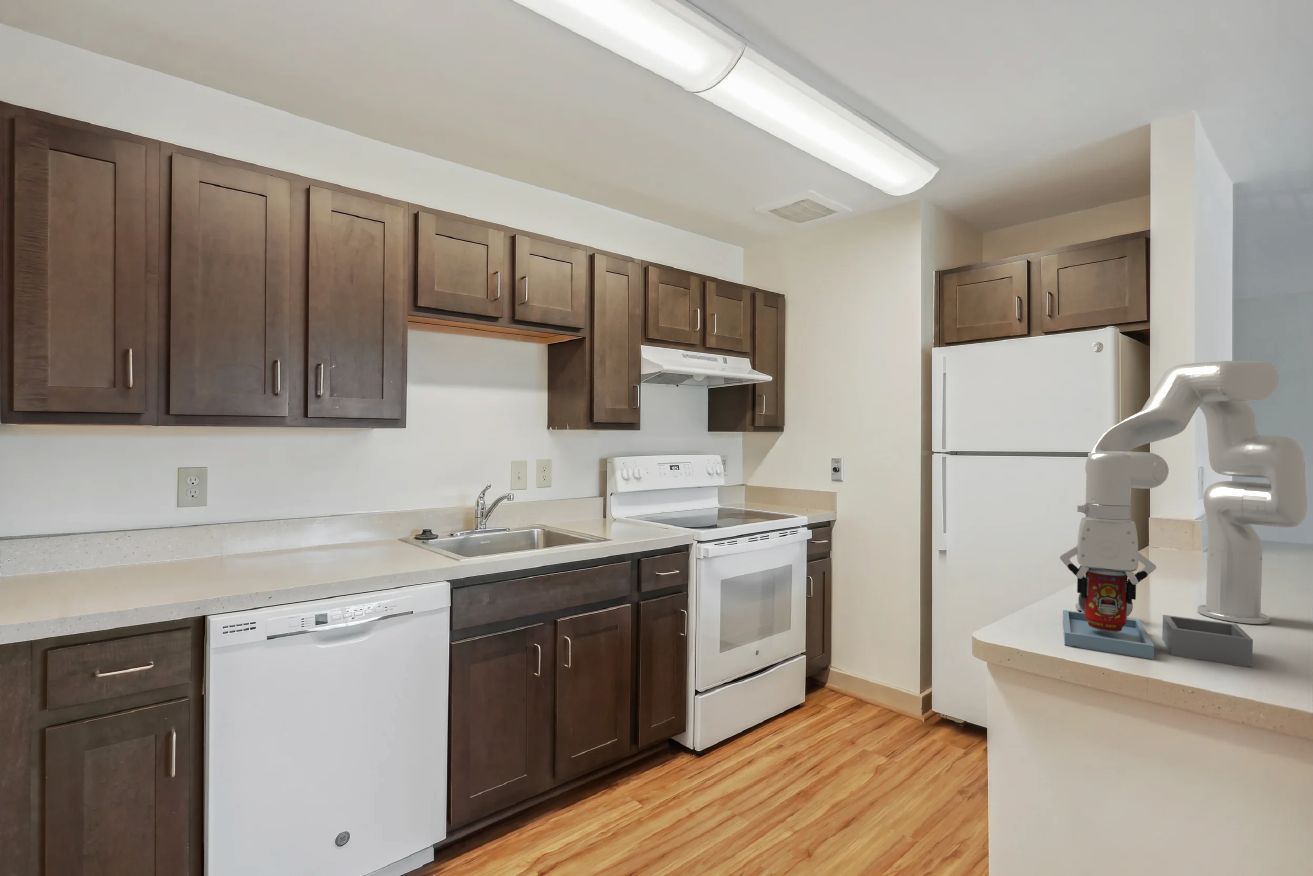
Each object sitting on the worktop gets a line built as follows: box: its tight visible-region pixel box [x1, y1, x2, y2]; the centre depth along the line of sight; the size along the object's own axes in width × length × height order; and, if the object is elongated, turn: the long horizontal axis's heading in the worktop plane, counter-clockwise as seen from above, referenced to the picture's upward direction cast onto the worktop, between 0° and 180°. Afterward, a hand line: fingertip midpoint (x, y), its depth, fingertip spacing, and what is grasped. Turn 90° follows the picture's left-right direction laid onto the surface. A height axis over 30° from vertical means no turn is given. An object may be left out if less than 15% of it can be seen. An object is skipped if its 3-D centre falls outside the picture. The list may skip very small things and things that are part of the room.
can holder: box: [1161, 614, 1254, 668], centre depth 125 cm, size 12×12×5 cm
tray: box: [1062, 609, 1155, 660], centre depth 132 cm, size 20×14×2 cm
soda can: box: [1085, 568, 1129, 632], centre depth 132 cm, size 7×7×12 cm
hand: (1105, 599), depth 132 cm, fingers closed on soda can, 7 cm apart
